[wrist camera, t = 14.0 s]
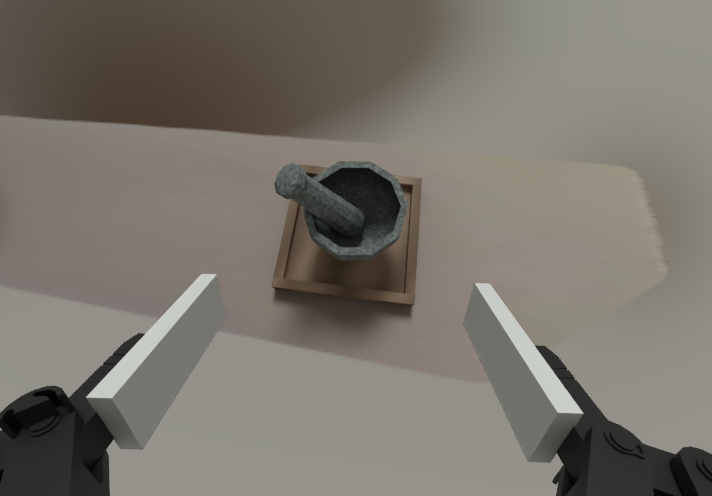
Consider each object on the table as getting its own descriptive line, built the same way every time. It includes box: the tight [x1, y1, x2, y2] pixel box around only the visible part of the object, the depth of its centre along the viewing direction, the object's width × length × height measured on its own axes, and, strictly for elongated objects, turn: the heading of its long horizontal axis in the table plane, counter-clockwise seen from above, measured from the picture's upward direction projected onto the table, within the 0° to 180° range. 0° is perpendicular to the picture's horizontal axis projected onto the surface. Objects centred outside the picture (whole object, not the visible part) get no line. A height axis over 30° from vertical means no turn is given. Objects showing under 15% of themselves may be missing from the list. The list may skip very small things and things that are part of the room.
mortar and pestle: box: [274, 162, 409, 261], centre depth 26 cm, size 11×9×12 cm
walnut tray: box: [271, 164, 422, 306], centre depth 31 cm, size 15×15×2 cm
